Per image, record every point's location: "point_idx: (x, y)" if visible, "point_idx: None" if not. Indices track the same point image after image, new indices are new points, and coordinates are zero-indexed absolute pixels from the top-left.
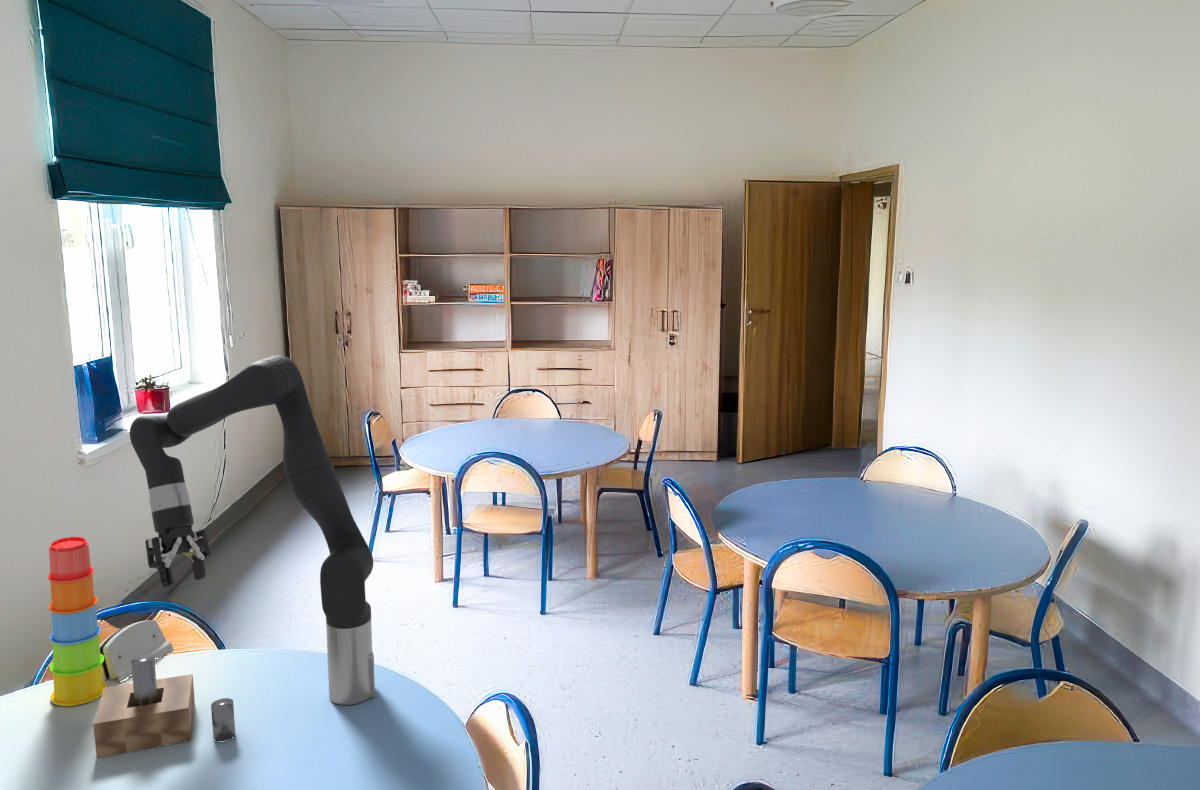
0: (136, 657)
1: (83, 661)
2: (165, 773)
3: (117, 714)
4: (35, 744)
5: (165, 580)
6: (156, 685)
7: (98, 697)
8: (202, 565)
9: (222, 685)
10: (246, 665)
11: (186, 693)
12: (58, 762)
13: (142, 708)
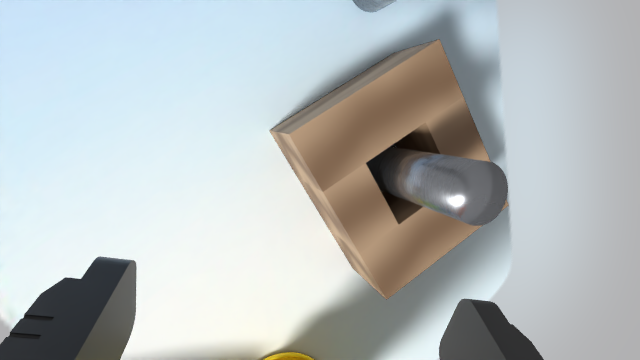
0: (472, 222)
1: None
2: (482, 40)
3: None
4: (435, 320)
5: (532, 355)
6: (413, 157)
7: (286, 352)
8: (38, 355)
9: (165, 119)
10: (29, 116)
11: (382, 85)
12: (472, 241)
13: (452, 147)
